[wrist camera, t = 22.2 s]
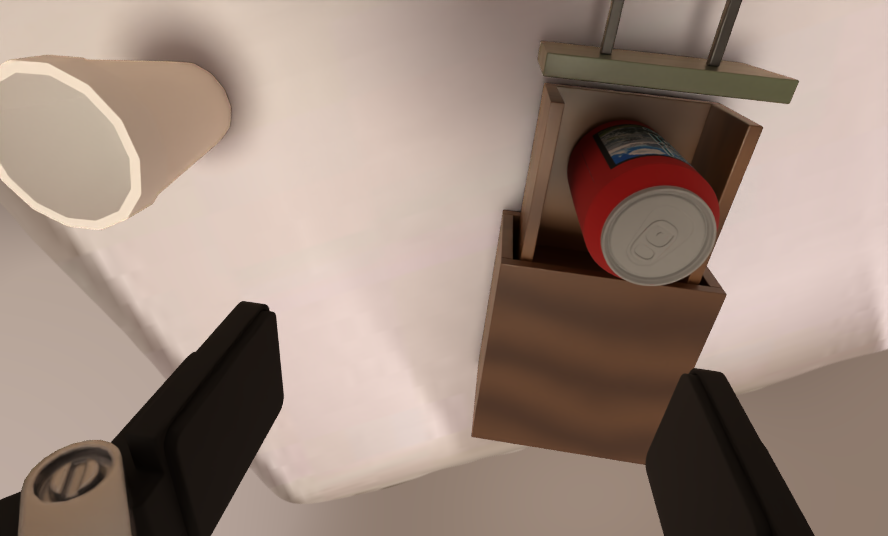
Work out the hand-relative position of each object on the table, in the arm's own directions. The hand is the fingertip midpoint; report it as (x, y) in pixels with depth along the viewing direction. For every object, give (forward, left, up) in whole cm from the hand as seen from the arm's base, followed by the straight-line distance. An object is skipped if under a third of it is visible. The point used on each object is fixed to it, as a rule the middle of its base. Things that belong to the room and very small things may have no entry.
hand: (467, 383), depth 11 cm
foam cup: (+6, -23, -28) cm, 37 cm away
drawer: (-2, +8, -27) cm, 29 cm away
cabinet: (+14, +11, -28) cm, 33 cm away
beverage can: (0, +9, -26) cm, 28 cm away
